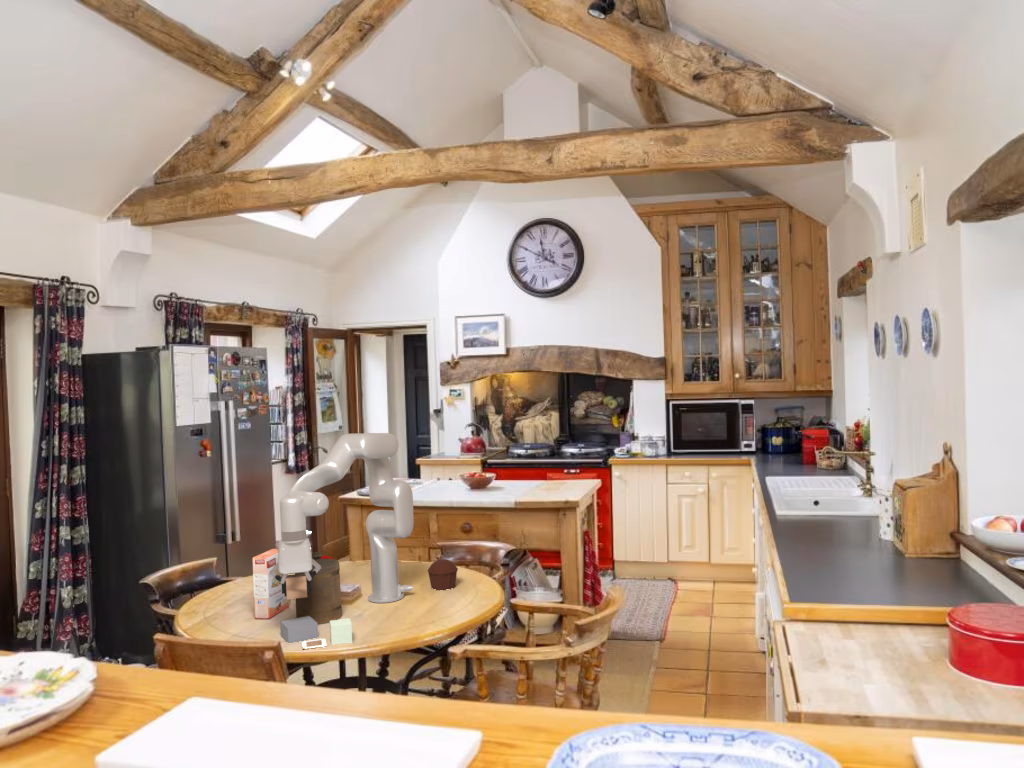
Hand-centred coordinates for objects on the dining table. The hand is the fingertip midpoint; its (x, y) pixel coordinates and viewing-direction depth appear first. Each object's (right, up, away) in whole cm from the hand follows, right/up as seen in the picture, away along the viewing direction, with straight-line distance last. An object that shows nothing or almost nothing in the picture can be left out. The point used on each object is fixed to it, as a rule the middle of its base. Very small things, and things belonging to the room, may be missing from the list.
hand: (296, 593), depth 244 cm
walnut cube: (0, -1, 0) cm, 1 cm away
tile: (+7, -13, -8) cm, 17 cm away
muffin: (+41, -11, +50) cm, 66 cm away
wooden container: (+2, -13, +20) cm, 24 cm away
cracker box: (-16, -14, +28) cm, 35 cm away
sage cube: (+15, -13, -6) cm, 21 cm away
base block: (+1, -14, 0) cm, 14 cm away
